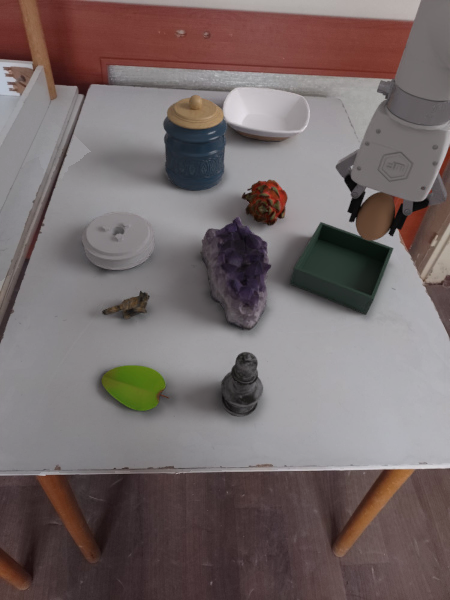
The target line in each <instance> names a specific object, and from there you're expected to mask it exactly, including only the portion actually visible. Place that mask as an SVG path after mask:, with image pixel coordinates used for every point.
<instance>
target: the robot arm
mask: <svg viewBox="0 0 450 600" xmlns="http://www.w3.org/2000/svg"><path fill="white" fill-rule="evenodd" d="M379 81H380V82H379V84H378V87H377V89H376V93H378V94H381V95H382V96H383V97H384V99H383V101H381V102H380V103H379V105H378V106H377V107H376V109H375V111H374V113H373V115H372V117H371V118H370V121H369V122H368V125H367V128H366V130H365V132H364V135H363V136H362V137H363V138H362V139H361V142H360V144H359V148H358V149H356V150H354V151H353V152H351V153H350V154H347V155H346V156H344V157H343V158H341V159H340V160H337V161H338V162H337V164H336V165H335V169H336V171H337V172H338V174H339V175H340V176H341V178H343V182H344V183H345V185H346V186H347V188H348V190H349V192H350V197H351V200H350V202H349V205H348V208H347V213H349V214H350V216H349V219H348V222H349V223H354V222H356V216H357V213H358V210H359V208H360V207H361V205H362V204H363V202H364V198H365V195H366V193H367V192H366V189H367V188H368V189H369V190H373V191H377V192H383V193H386V194H389V195H390V196H391V197H396V198H398V199H401V200H402V202H401V203H400V204H399V207H398V209H397V212H396V213H395V218H394V221H393V224H392V226H391V228H390V230H389V231H388V232H387V233H388V235H389V236H390V237H394V235H395V233H396V230H400V231H402V229H403V227H404V225H405V223H406V220H407V219H408V216H409V217H410V215H412V214H413V213H415V212H417V211H421V210H423V209H426V208H428V207H429V206H435V205H438V204H442V203H445V202H446V201H447V197H448V193H447V189H446V186H445V184H444V181H443V178H442V177H441V174H440V170H441V168H442V165H443V163H444V161H445V158H446V156H447V153H448V150H449V148H450V0H420V1H419V5H418V8H417V12H416V14H415V17H414V20H413V22H412V25H411V28H410V31H409V34H408V37H407V40H406V44H405V46H404V49H403V52H402V55H401V58H400V61H399V64H398V67H397V69H396V73H395V75H394V78H391V80H387V81H385V80H379Z"/></svg>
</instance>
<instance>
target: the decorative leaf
mask: <svg viewBox="0 0 450 600" xmlns="http://www.w3.org/2000/svg"><path fill="white" fill-rule="evenodd" d="M101 385H102V386H103V388H104V389H105V391H106V392H107V393H108V394H109V395H110V396H112V398H114V399H115V400H116V401H118V402H119V403H120V404H122V405H123V406H125V407H127V408H129V409H132V410H134V411H139V412H143V411H145V412H146V411H149V410H152V409H154V408H157V406H158V405H159V403H160V397H163V398H166V399H170V397H169V396H167V395H164V394H162V393H163V392H164V390H165V389H166V386H167V384H166V380H165V378H164V376H163V375H162V374H161V373H160V372H158V371H157V370H155V369H154V368H151V367H149V366H146V365H145V366H144V365H138V364H137V365H136V364H127V365H119V366H116V367H113V368H110V369H108V371H106V372H105V373H104V374H103V375H102V377H101Z"/></svg>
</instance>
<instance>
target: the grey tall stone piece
mask: <svg viewBox="0 0 450 600" xmlns="http://www.w3.org/2000/svg"><path fill="white" fill-rule="evenodd" d="M258 364H259V362H258V359H257V356H256V355H255V354H253V353H252V352H249V351H243V352H240V353H239V354H238V355H237V356H236V358H235V361H234V365H232V368H231V371H229V372H228V373H227V374H225V375H224V376H223V378H222V380H221V382H220V392H221V394H222V395H221V403H222V406H223V408H224V409H225V411H226V412H228V413H229V414H231V415H233V416H235V417H246V416H249V415H251V414H253V413H254V411H255V410H256V409H257V407H258V404H259V401H260V400H261V398H262V396H263V392H264V385H263V382H262V380H261V379H260V377H259V371H258V369H257V368H258Z"/></svg>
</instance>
